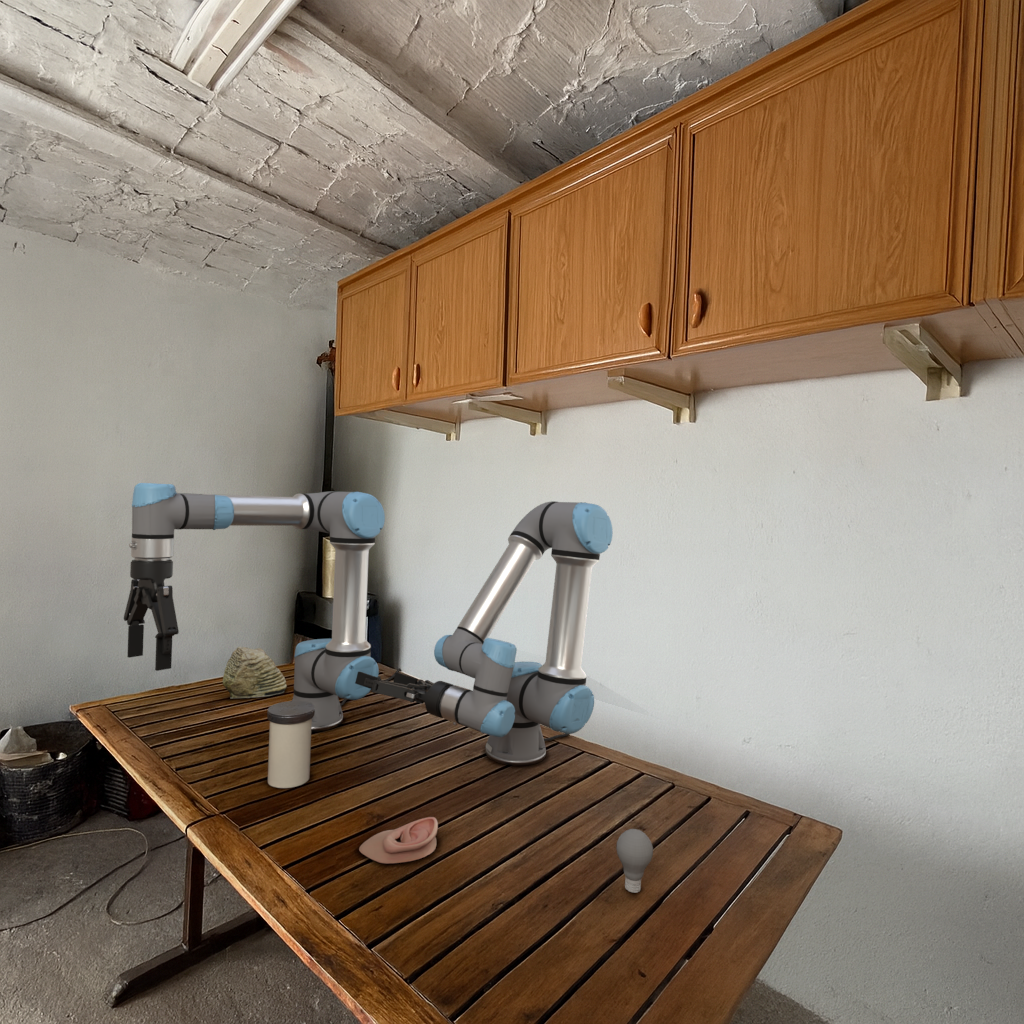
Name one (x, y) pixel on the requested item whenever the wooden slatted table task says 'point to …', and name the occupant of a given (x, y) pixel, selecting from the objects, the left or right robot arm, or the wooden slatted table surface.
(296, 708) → the lid
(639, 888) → the light bulb
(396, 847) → the anatomical model
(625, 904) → the wooden slatted table surface
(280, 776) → the jar
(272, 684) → the fossil
